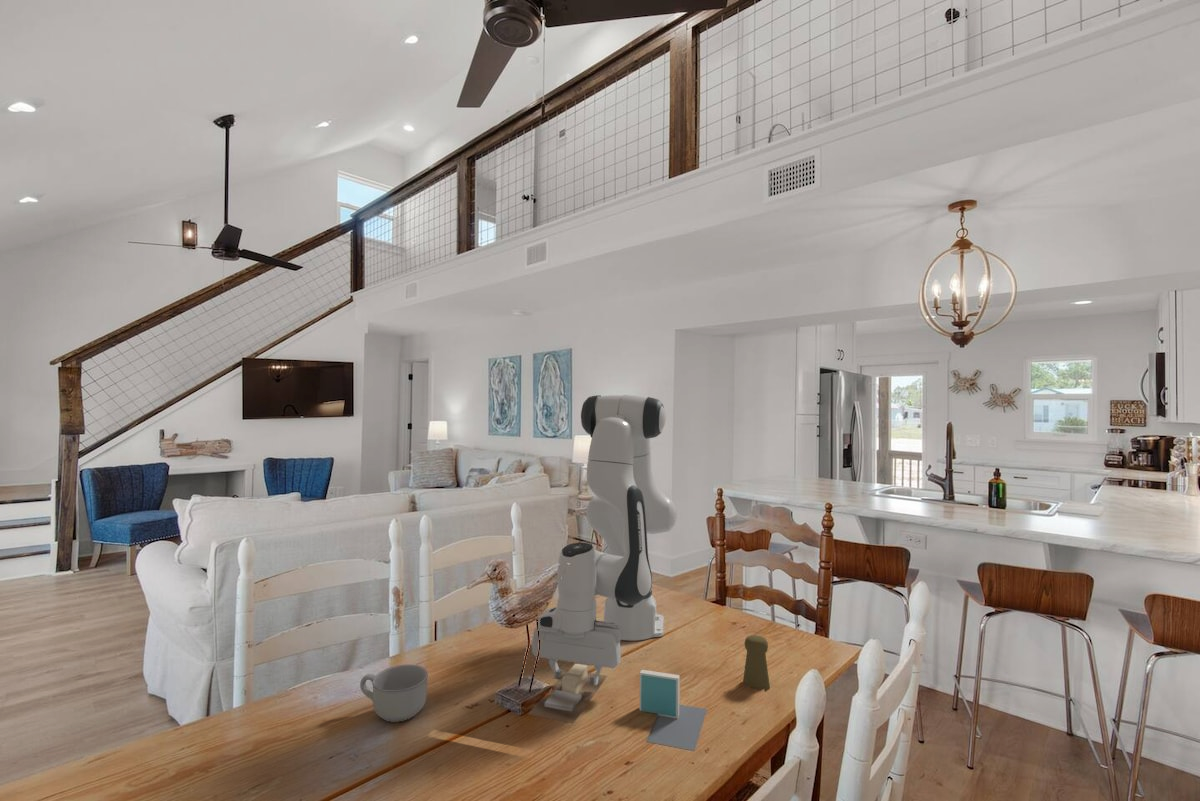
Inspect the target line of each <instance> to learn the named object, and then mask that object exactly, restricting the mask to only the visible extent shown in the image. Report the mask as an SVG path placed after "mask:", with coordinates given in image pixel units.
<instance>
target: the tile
mask: <svg viewBox="0 0 1200 801" xmlns="http://www.w3.org/2000/svg"><path fill="white" fill-rule="evenodd" d="M680 679H681V677H680V675H679V674H674V673H669V672H662V671H661V672H660V671H654V670H647V669H641V670H640V672H639V711H640V712H641V711H642V712H647V713H651V714H653V713H654V714H657V716H658V715H660V716H665V717H671V718H677V719H678V717H679V705H680V698H681V697H680V696H681V695H680V693H681V692H680V690H681V689H680V686H681V683H680Z"/></svg>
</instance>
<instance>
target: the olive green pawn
mask: <svg viewBox="0 0 1200 801" xmlns="http://www.w3.org/2000/svg"><path fill="white" fill-rule="evenodd" d="M744 648H745V650H746V656H745V657H746V658H745V665H744V671H743V679H742V683H743V685H744V686H747V687H749V688H752V689H757V690H758V689H760V690H764V692H766V690H767V691H769V690H770V688H771V686H770V678H769V670H768V663H767V655H766V653H767V651H768V648H769V643H768V641H767V638H765V637H763V636H761V635H757V634H756V635H755V634H752V635H747V636H746V638H745V639H744Z"/></svg>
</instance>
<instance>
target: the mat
mask: <svg viewBox="0 0 1200 801" xmlns="http://www.w3.org/2000/svg"><path fill="white" fill-rule="evenodd" d="M707 710H708V709H707V708H702V707H697V706H689V705H684V704H679V717H678V719H677V718H671V717H665V716H660V715H658V714H657V716H656V718H655V720H654V723H653V724H652V727H651V729H650V731H649V733H648V736H647V738H646V740H645V743H651V744H654V745H655V744H656V745H660V746H665V747H669V748H670V747H671V748H677V749H682V750H686V751H692V752H695V751H696V748H697V745H698V741H699V737H700V734H701V731H702V729H703V724H704V720H705V717H706V713H707Z"/></svg>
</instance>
